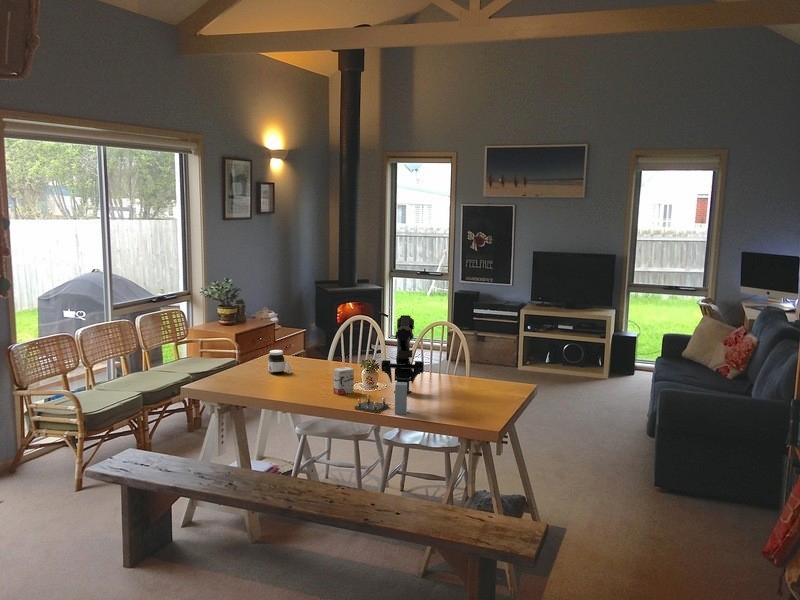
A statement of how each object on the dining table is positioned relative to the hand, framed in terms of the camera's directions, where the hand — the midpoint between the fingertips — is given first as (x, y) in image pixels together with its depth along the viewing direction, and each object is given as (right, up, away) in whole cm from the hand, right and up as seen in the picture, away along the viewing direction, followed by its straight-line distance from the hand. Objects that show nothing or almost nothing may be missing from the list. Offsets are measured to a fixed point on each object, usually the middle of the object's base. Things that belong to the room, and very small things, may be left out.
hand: (401, 382), depth 306 cm
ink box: (-28, -8, +26) cm, 38 cm away
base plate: (-13, -11, +2) cm, 18 cm away
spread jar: (-64, -2, +61) cm, 88 cm away
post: (-1, -13, -4) cm, 13 cm away
